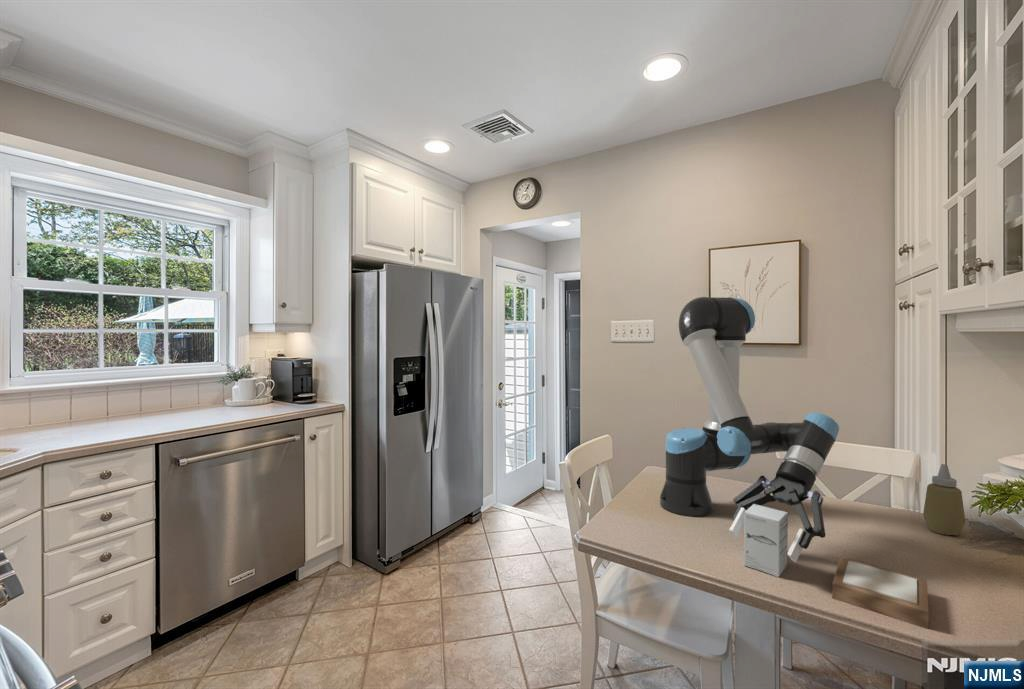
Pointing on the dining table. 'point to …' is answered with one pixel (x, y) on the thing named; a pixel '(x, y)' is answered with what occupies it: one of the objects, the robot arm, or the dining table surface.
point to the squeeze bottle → (944, 504)
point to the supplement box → (765, 539)
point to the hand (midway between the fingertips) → (760, 545)
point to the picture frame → (882, 591)
